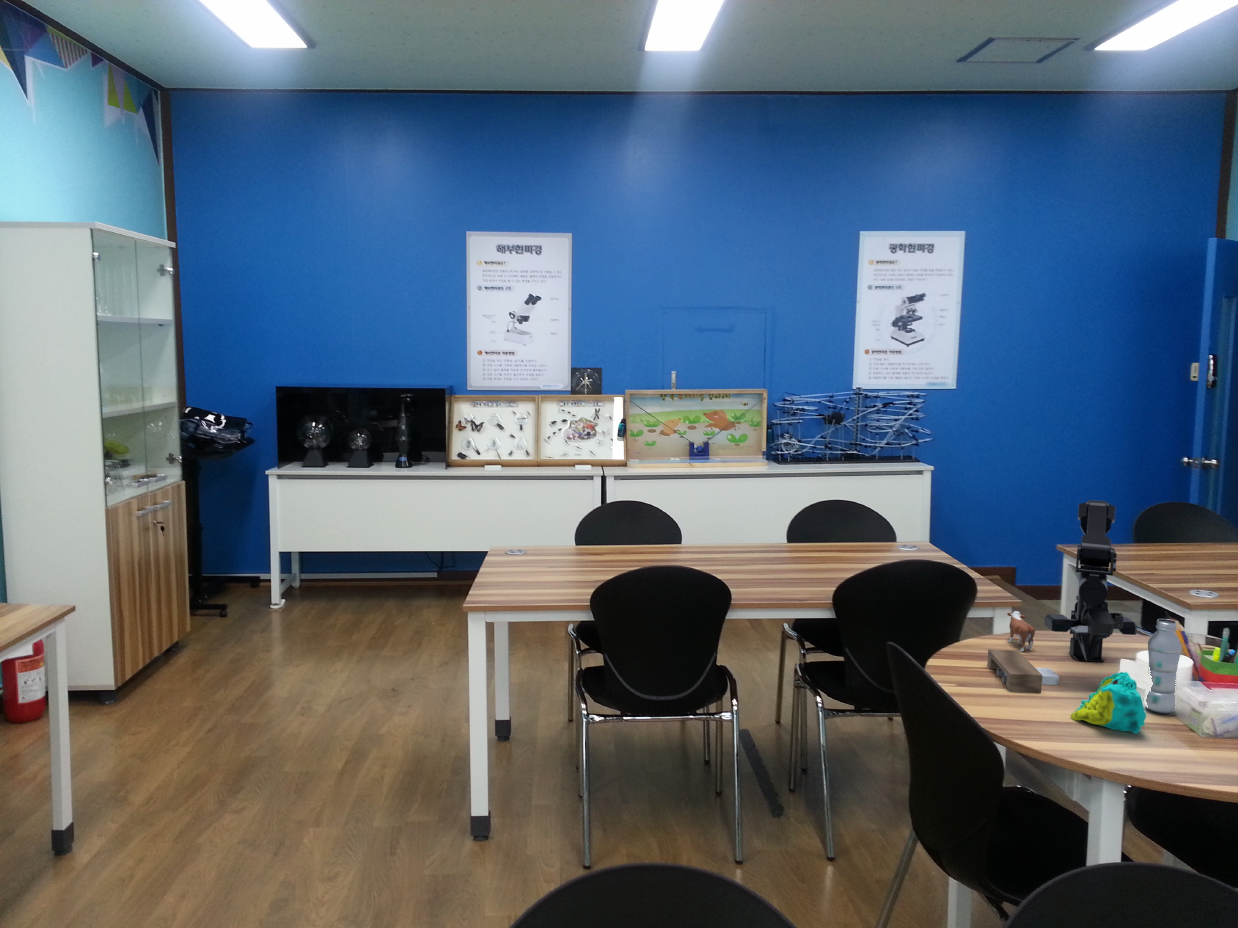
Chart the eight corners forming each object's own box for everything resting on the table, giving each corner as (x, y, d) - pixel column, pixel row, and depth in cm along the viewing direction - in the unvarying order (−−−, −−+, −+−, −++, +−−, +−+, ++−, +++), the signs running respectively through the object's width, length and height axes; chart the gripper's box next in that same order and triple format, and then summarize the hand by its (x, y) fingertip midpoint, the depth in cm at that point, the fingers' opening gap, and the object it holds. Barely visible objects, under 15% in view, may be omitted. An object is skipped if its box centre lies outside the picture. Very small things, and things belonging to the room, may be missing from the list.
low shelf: (1016, 667, 233) (1017, 650, 233) (1041, 692, 215) (1042, 675, 215) (987, 665, 234) (988, 649, 233) (1009, 691, 216) (1010, 673, 216)
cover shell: (1049, 676, 227) (1050, 668, 227) (1058, 684, 221) (1059, 676, 221) (1002, 674, 228) (1002, 666, 228) (1009, 682, 222) (1010, 674, 222)
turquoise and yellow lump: (1053, 688, 198) (1081, 650, 205) (1073, 734, 201) (1100, 694, 208) (1125, 697, 186) (1152, 656, 193) (1145, 745, 189) (1171, 703, 196)
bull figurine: (1019, 638, 257) (1021, 609, 256) (1036, 654, 244) (1038, 623, 243) (1003, 638, 257) (1004, 608, 256) (1018, 653, 244) (1020, 622, 243)
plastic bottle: (1144, 714, 203) (1151, 623, 201) (1140, 703, 210) (1147, 615, 207) (1179, 718, 201) (1186, 627, 199) (1173, 707, 207) (1181, 618, 205)
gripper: (1062, 602, 213) (1058, 669, 215) (1149, 605, 211) (1144, 673, 213) (1045, 589, 224) (1041, 653, 226) (1128, 592, 222) (1123, 657, 224)
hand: (1087, 659), depth 222 cm, fingers closed
